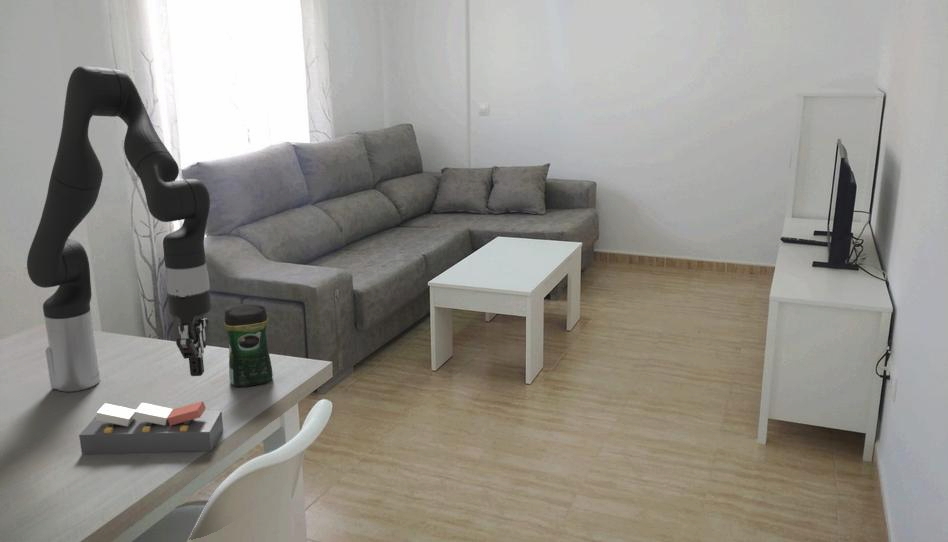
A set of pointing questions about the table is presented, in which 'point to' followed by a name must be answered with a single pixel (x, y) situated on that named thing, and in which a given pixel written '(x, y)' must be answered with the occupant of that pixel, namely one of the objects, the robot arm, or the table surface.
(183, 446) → the switch panel
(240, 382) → the coffee jar
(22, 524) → the table surface
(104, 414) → the rocker
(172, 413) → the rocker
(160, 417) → the block
